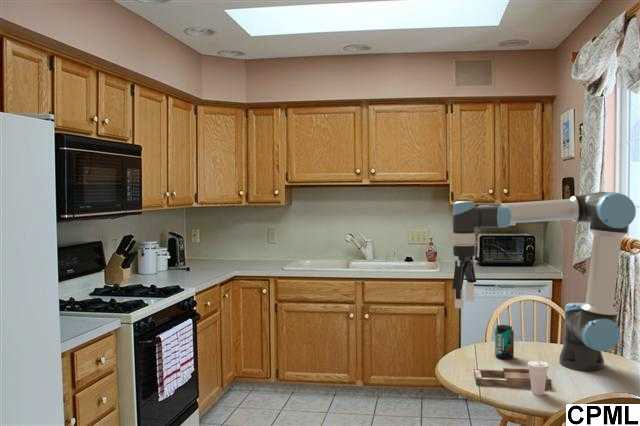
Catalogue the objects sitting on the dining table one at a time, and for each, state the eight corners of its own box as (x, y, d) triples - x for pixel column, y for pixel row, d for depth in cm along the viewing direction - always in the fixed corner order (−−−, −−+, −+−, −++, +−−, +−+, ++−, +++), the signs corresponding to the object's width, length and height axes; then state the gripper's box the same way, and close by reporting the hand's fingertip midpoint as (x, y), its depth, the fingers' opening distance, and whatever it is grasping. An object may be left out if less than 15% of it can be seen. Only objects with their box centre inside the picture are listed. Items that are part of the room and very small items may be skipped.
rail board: (545, 378, 191) (545, 369, 191) (551, 388, 182) (551, 379, 182) (474, 374, 196) (474, 366, 196) (476, 384, 187) (476, 375, 186)
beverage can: (517, 358, 213) (517, 328, 212) (501, 360, 211) (501, 329, 210) (507, 353, 219) (507, 323, 219) (491, 355, 218) (491, 325, 217)
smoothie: (537, 398, 174) (538, 354, 173) (523, 391, 180) (523, 349, 179) (553, 394, 177) (553, 351, 176) (537, 388, 183) (538, 346, 182)
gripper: (463, 240, 207) (464, 296, 208) (442, 248, 186) (443, 310, 187) (483, 241, 203) (484, 298, 204) (464, 249, 182) (465, 312, 183)
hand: (464, 304), depth 196 cm, fingers open, 13 cm apart
